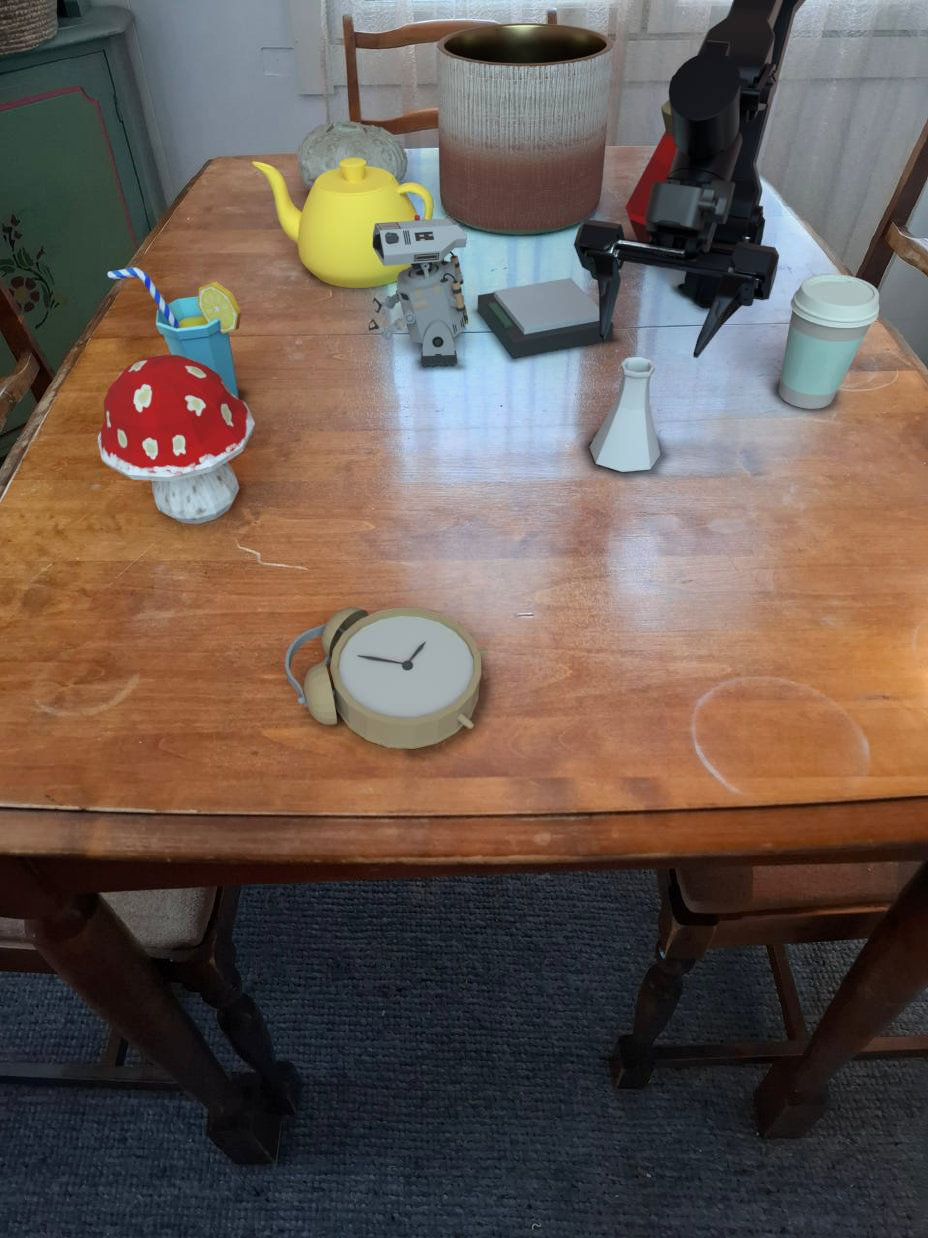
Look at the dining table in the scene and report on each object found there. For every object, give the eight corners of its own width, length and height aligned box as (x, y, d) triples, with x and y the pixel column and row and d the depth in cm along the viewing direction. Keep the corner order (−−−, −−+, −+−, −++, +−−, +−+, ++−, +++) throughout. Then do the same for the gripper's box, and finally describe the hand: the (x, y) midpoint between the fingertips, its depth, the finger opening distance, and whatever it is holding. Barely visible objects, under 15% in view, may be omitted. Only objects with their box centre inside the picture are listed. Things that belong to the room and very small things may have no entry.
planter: (552, 254, 116) (564, 74, 100) (409, 220, 125) (398, 51, 109) (625, 197, 130) (645, 32, 114) (491, 171, 140) (493, 15, 124)
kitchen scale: (569, 295, 107) (571, 273, 105) (611, 340, 98) (614, 316, 96) (477, 311, 104) (477, 288, 102) (513, 358, 96) (513, 335, 94)
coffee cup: (846, 381, 91) (884, 277, 82) (844, 421, 85) (885, 314, 77) (768, 370, 93) (798, 266, 84) (762, 408, 87) (793, 302, 79)
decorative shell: (387, 168, 141) (382, 103, 134) (425, 202, 130) (421, 133, 123) (290, 185, 137) (279, 118, 129) (320, 221, 126) (310, 151, 118)
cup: (136, 416, 89) (87, 282, 78) (165, 379, 94) (123, 249, 83) (256, 425, 87) (223, 290, 76) (279, 388, 92) (251, 256, 81)
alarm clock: (473, 738, 55) (261, 689, 55) (461, 774, 59) (263, 728, 59) (495, 620, 63) (309, 577, 62) (484, 659, 66) (308, 617, 66)
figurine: (376, 333, 101) (363, 207, 90) (467, 330, 101) (465, 204, 90) (373, 370, 95) (358, 240, 84) (470, 367, 95) (468, 236, 84)
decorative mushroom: (232, 445, 85) (194, 308, 74) (299, 509, 77) (268, 368, 66) (105, 498, 79) (43, 358, 68) (164, 573, 71) (105, 429, 60)
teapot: (253, 289, 110) (230, 181, 100) (289, 237, 122) (271, 136, 112) (432, 296, 107) (427, 187, 97) (450, 242, 119) (448, 140, 109)
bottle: (698, 228, 121) (727, 72, 107) (746, 263, 112) (785, 99, 98) (603, 243, 118) (620, 85, 103) (645, 281, 109) (671, 114, 95)
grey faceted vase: (658, 477, 79) (676, 388, 72) (585, 470, 80) (596, 381, 73) (661, 436, 84) (678, 348, 77) (592, 429, 85) (602, 342, 78)
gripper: (589, 123, 71) (539, 297, 72) (807, 148, 65) (748, 335, 66) (606, 189, 81) (562, 339, 83) (795, 215, 76) (744, 376, 77)
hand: (647, 347), depth 77 cm, fingers open, 9 cm apart
